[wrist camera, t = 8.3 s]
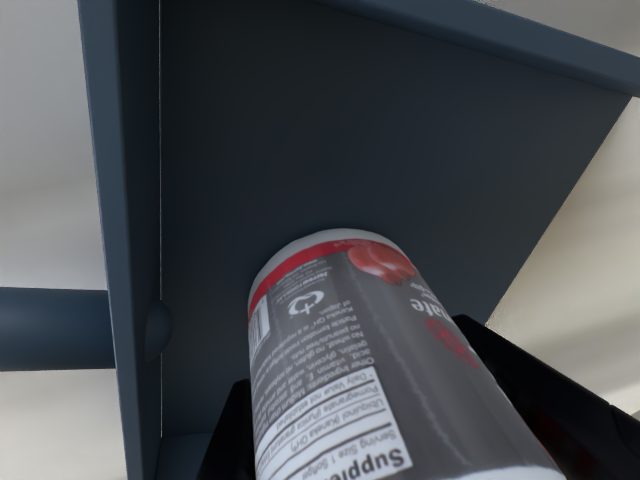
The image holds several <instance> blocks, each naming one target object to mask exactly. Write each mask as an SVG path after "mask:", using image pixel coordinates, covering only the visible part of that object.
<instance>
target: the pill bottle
mask: <svg viewBox="0 0 640 480" xmlns="http://www.w3.org/2000/svg"><path fill="white" fill-rule="evenodd" d="M248 340H249V358H250V375H251V393H252V417H253V438H254V455H255V472H256V480H567V479H566V478H565V476H564V474H563V473H562V472H561V470H560V469H559V468H558V466H557V465H556V463H555V462H554V460H553V459H552V457H551V456H550V455H549V453H548V452H547V451H546V449H545V448H544V447H543V445H542V444H541V443H540V442H539V440H538V439H537V438H536V437H535V435H534V434H533V433H532V431H531V430H530V429H529V427H528V426H527V425H526V423H525V422H524V420H523V419H522V418H521V416H520V415H519V413H518V412H517V411H516V409H515V408H514V406H513V405H512V403H511V402H510V400H509V399H508V397H507V396H506V394H505V393H504V392H503V391H502V389H501V388H500V387H499V385H498V384H497V382H496V381H495V379H494V377H493V376H492V374H491V373H490V372H489V371H488V369H487V368H486V367H485V365H484V364H483V362H482V361H481V360H480V358H479V357H478V355H477V354H476V352H475V351H474V350H473V348H472V347H471V346H470V344H469V343H468V341H467V340H466V338H465V337H464V335H463V334H462V333H461V331H460V330H459V328H458V327H457V326H456V324H455V323H454V322H453V320H452V319H451V318H450V316H449V315H448V313H447V312H446V310H445V309H444V307H443V306H442V305H441V303H440V302H439V301H438V299H437V298H436V296H435V295H434V293H433V292H432V291H431V289H430V288H429V286H428V285H427V283H426V282H425V280H424V279H423V278H422V276H421V275H420V273H419V272H418V270H417V269H416V268H415V266H414V265H413V264H412V263H411V261H410V260H409V259H408V257H407V256H406V255H405V254H404V252H403V251H402V250H401V249H400V248H399V247H398V246H397V245H396V244H394V243H393V242H392V241H390V240H388V239H387V238H385V237H383V236H381V235H379V234H376V233H373V232H368V231H364V230H358V229H348V228H339V229H329V230H323V231H319V232H316V233H314V234H311V235H308V236H305V237H303V238H300V239H298V240H295V241H292V242H291V243H290V244H288V245H287V246H285V247H284V248H282V249H281V250H280V251H278V252H277V253H276V254H275V255H274V256H273V257H272V258H271V259H270V260H269V261H268V262H267V264H266V265H265V266H264V267H263V268H262V269H261V270H260V272H259V273H258V275H257V276H256V278H255V280H254V282H253V284H252V287H251V290H250V294H249V298H248Z"/></svg>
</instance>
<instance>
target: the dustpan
mask: <svg viewBox="0 0 640 480" xmlns="http://www.w3.org/2000/svg"><path fill="white" fill-rule="evenodd" d="M77 2H78V12H79V21H80V31H81V40H82V50H83V59H84V69H85V78H86V88H87V97H88V107H89V116H90V126H91V135H92V145H93V154H94V164H95V174H96V183H97V193H98V202H99V212H100V221H101V231H102V240H103V250H104V259H105V269H106V278H107V288H108V290H76V289H44V288H12V287H0V372H4V371H40V370H77V369H113V368H116V374H117V383H118V393H119V402H120V412H121V421H122V431H123V440H124V450H125V459H126V469H127V478H128V480H195V478H196V475H197V473H198V470H199V468H200V465H201V463H202V460H203V458H204V455H205V453H206V450H207V448H208V445H209V443H210V440H211V438H212V435H213V433H214V430H215V428H216V425H217V423H218V420H219V418H220V415H221V413H222V410H223V408H224V405H225V403H226V400H227V398H228V395H229V393H230V390H231V388H232V385H233V384H234V383H235V382H236V381H239V380H243V379H246V378H249V379H250V380H251V375H250V358H249V340H248V298H249V294H250V290H251V287H252V284H253V282H254V280H255V278H256V276H257V275H258V273H259V272H260V270H261V269H262V268H263V267H264V266H265V265H266V264H267V262H268V261H269V260H270V259H271V258H272V257H273V256H274V255H275V254H276V253H277V252H278V251H280V250H281V249H282V248H284V247H285V246H287V245H288V244H290V243H291V242H292V241H295V240H298V239H300V238H303V237H305V236H308V235H311V234H314V233H316V232H319V231H323V230H329V229H339V228H348V229H358V230H364V231H368V232H373V233H376V234H379V235H381V236H383V237H385V238H387V239H388V240H390V241H392V242H393V243H394V244H396V245H397V246H398V247H399V248H400V249H401V250H402V251H403V252H404V254H405V255H406V256H407V257H408V259H409V260H410V261H411V263H412V264H413V265H414V266H415V268H416V269H417V270H418V272H419V273H420V275H421V276H422V278H423V279H424V280H425V282H426V283H427V285H428V286H429V288H430V289H431V291H432V292H433V293H434V295H435V296H436V298H437V299H438V301H439V302H440V303H441V305H442V306H443V307H444V309H445V310H446V312H447V313H448V315H449V316H450V317H452V316H456V315H459V314H465V315H467V316H469V317H471V318H472V319H474V320H476V321H477V322H479V323H480V324H482V325H485V323H486V322H487V320H488V319H489V317H490V315H491V314H492V312H493V311H494V309H495V308H496V306H497V305H498V303H499V302H500V300H501V298H502V297H503V295H504V294H505V292H506V291H507V289H508V288H509V286H510V285H511V283H512V281H513V280H514V278H515V277H516V275H517V274H518V272H519V271H520V269H521V268H522V266H523V264H524V263H525V261H526V260H527V258H528V257H529V255H530V254H531V252H532V251H533V249H534V248H535V246H536V244H537V243H538V241H539V240H540V238H541V237H542V235H543V234H544V232H545V231H546V229H547V227H548V226H549V224H550V223H551V221H552V220H553V218H554V217H555V215H556V214H557V212H558V210H559V209H560V207H561V206H562V204H563V203H564V201H565V200H566V198H567V197H568V195H569V193H570V192H571V190H572V189H573V187H574V186H575V184H576V183H577V181H578V180H579V178H580V177H581V175H582V173H583V172H584V170H585V169H586V167H587V166H588V164H589V163H590V161H591V160H592V158H593V156H594V155H595V153H596V152H597V150H598V149H599V147H600V146H601V144H602V143H603V141H604V139H605V138H606V136H607V135H608V133H609V132H610V130H611V129H612V127H613V126H614V124H615V122H616V121H617V119H618V118H619V116H620V115H621V113H622V112H623V110H624V109H625V107H626V106H627V104H628V102H629V101H630V99H631V98H632V96H633V97H638V98H640V57H637V56H634V55H631V54H628V53H625V52H622V51H619V50H616V49H613V48H610V47H608V46H605V45H602V44H599V43H596V42H593V41H590V40H587V39H584V38H581V37H578V36H575V35H572V34H570V33H567V32H564V31H561V30H558V29H555V28H552V27H549V26H546V25H543V24H540V23H537V22H535V21H532V20H529V19H526V18H523V17H520V16H517V15H514V14H511V13H508V12H505V11H502V10H500V9H497V8H494V7H491V6H488V5H485V4H482V3H479V2H476V1H473V0H160V111H159V0H77ZM160 161H161V293H160ZM161 387H162V438H161Z"/></svg>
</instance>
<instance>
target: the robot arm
mask: <svg viewBox="0 0 640 480" xmlns="http://www.w3.org/2000/svg"><path fill="white" fill-rule="evenodd" d="M450 318H451V319H452V320H453V322H454V323H455V324H456V326H457V327H458V328H459V330H460V331H461V333H462V334H463V335H464V337H465V338H466V340H467V341H468V343H469V344H470V346H471V347H472V348H473V350H474V351H475V352H476V354H477V355H478V357H479V358H480V360H481V361H482V362H483V364H484V365H485V367H486V368H487V369H488V371H489V372H490V373H491V374H492V376H493V377H494V379H495V381H496V382H497V384H498V385H499V387H500V388H501V389H502V391H503V392H504V393H505V394H506V396H507V397H508V399H509V400H510V402H511V403H512V405H513V406H514V408H515V409H516V411H517V412H518V413H519V415H520V416H521V418H522V419H523V420H524V422H525V423H526V425H527V426H528V427H529V429H530V430H531V431H532V433H533V434H534V435H535V437H536V438H537V439H538V440H539V442H540V443H541V444H542V445H543V447H544V448H545V449H546V451H547V452H548V453H549V455H550V456H551V457H552V459H553V460H554V462H555V463H556V465H557V466H558V468H559V469H560V470H561V472H562V473H563V474H564V476H565V478H566V479H567V480H640V421H638V420H637V419H635V418H633V417H632V416H630V415H629V414H627V413H625V412H624V411H622V410H620V409H619V408H617V407H616V406H614V405H610V404H609V403H608V402H607V401H606V400H604V399H602V398H601V397H599V396H597V395H596V394H594V393H593V392H591V391H589V390H588V389H586V388H584V387H583V386H581V385H580V384H578V383H576V382H575V381H573V380H571V379H570V378H568V377H567V376H565V375H563V374H562V373H560V372H558V371H557V370H555V369H554V368H552V367H550V366H549V365H547V364H545V363H544V362H542V361H541V360H539V359H537V358H536V357H534V356H532V355H531V354H529V353H528V352H526V351H524V350H523V349H521V348H519V347H518V346H516V345H515V344H513V343H511V342H510V341H508V340H506V339H505V338H503V337H502V336H500V335H498V334H497V333H495V332H493V331H492V330H490V329H489V328H487V327H485V326H484V325H482V324H480V323H479V322H477V321H476V320H474V319H472V318H471V317H469V316H467V315H465V314H459V315H456V316H452V317H450ZM195 480H256V472H255V455H254V438H253V417H252V393H251V380H250V379H249V378H246V379H243V380H239V381H236V382H235V383H234V384H233V385H232V388H231V390H230V393H229V395H228V398H227V400H226V403H225V405H224V408H223V410H222V413H221V415H220V418H219V420H218V423H217V425H216V428H215V430H214V433H213V435H212V438H211V440H210V443H209V445H208V448H207V450H206V453H205V455H204V458H203V460H202V463H201V465H200V468H199V470H198V473H197V475H196V478H195Z"/></svg>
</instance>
